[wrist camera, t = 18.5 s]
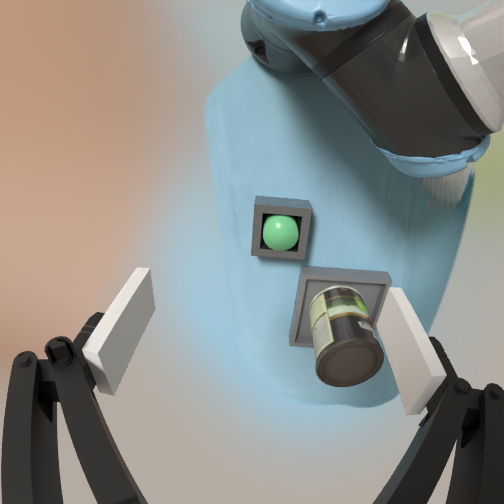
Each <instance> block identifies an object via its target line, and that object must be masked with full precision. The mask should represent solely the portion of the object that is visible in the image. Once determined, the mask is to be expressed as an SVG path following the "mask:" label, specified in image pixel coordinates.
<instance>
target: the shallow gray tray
mask: <svg viewBox="0 0 504 504" xmlns="http://www.w3.org/2000/svg"><path fill="white" fill-rule="evenodd" d="M391 283H392V279H391V277H390V276H389V274H388V272H381V271H367V270H354V269H340V268H327V267H314V266H302V265H301V269H300V275H299V282H298V288H297V294H296V300H295V306H294V312H293V317H292V323H291V329H290V334H289V342H290V346H305V347H314V344H313V336H312V329H311V321H310V316H309V306H310V303H311V301H312V300H313V298H314V297H315V296H316V295H317V294H318V293H319V292H320V291H322V290H324V289H326V288H328V287H331V286H335V285H346V286H350V287H352V288H354V289H356V290H357V291H358V292H359V293H360V294H361V295H362V297H363V300H364V304H365V306H366V309H367V312H368V314H369V317H370V320H371V322H372V325H373V328H374V331H375V329H376V325H377V322H378V319H379V316H380V313H381V311H382V308H383V305H384V302H385V299H386V296H387V293H388V290H389V287H390V286H391Z"/></svg>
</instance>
